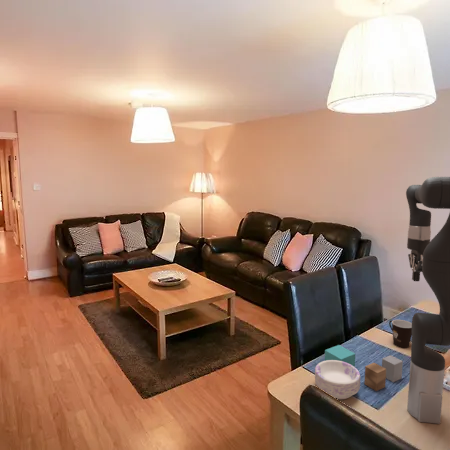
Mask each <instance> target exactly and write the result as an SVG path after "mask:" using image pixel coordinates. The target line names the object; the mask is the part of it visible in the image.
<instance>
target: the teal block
mask: <svg viewBox="0 0 450 450" xmlns="http://www.w3.org/2000/svg"><path fill="white" fill-rule="evenodd" d="M326 360H338V361H343V362H346V363H349V364H351V365H352V366H354V367H355V368H356V366H355V365H356V353H355V352H353V351H352V350H349V349H348V348H345V347H343V346H342V345H340V344H337V345H335V346H332V347H330V348H327V349H325V350H324V361H326Z"/></svg>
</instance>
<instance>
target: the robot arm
mask: <svg viewBox="0 0 450 450" xmlns="http://www.w3.org/2000/svg"><path fill="white" fill-rule="evenodd" d="M405 195H406V200H407V203H408V209H409V223H408V224H409V225H408V231H407V242H406V248H407V249H408V250H411V251H410V253H408V255H407V256H408V261H409V267H410V269H411V271H412V275H411V276H412V278H411V280H412V281H413V282H420V280H421V274H422V276H423V278H424V279H425V282H426V283H427V285H428V286H429V287H430V289H431V290H432V292H433V293H434V295H435V297H436V299H437V302H438V306H439V313H426V312H416V313H414V314H413V315H412V320H411V323H412V336H411V342H410V353H411V354H410V366H409V378H408V380H409V381H408V391H407V392H408V393H407V411H408V413H409V414H410V415H411V416H412V417H414V418H415V419H416V420H417V421H418V422H420V423H421V422H422V423H429V424H441V419H442V418H441V417H442V405H443V392H444V391H443V390H444V380H445V372H446V371H445V370H446V359H445V357H444V356H443V355H442V354H441V353H439V352H438V351H436V350H434V349H432V348H430V347H427V345H434V346H443V347H444V346H446V347H450V212H449V214H448V216H447V219H446V221H445V223H444V224H443V226H442V228H441V229H440V230H439V231H438V232H437V234H436V235H435V236H434V237H433V238H432V239H431V234H432V232H431V225H432V212H431V211H430V210H427V209H422V208H419V207H418V206H417V204H422V205H423V206H424V207H426V208H429V209H441V210H442V209H443V210H444V209H445V210H450V176H432V177H429V178H426V179H425V180H424V181H423V182H422V184H412V185H409V186H408V187H407V188H406V192H405Z"/></svg>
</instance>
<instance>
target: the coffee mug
mask: <svg viewBox="0 0 450 450" xmlns="http://www.w3.org/2000/svg"><path fill="white" fill-rule="evenodd" d="M388 325H389V328H390V329H391V332H392V341H393V345H394V346H395V347H396V348H400V349H408V348H410V346H411V341H412V322H410V321H408V320H404V319H394V320H389V322H388Z"/></svg>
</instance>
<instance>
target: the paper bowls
mask: <svg viewBox="0 0 450 450" xmlns="http://www.w3.org/2000/svg"><path fill="white" fill-rule="evenodd" d="M314 381H315V385H316V387H318V388H319V389H320V390H321V389H322V390H324V391H325V392H327V393H328V394H330V395H332V396H333V397H335V398H337V399H336V400H346V399H349V398H351V397H352V396H355V395H356V394H357V393H358V392H359V391H360V389H361V374H360V371H359V370H358V368H356V366H355V367H354V366H352V365H351V364H349V363H346V362H343V361H338V360H326V361H325V360H322V361H320V362H318V363H317V364H316V366H315V367H314ZM322 390H321V391H322ZM335 398H334V399H335Z"/></svg>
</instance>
